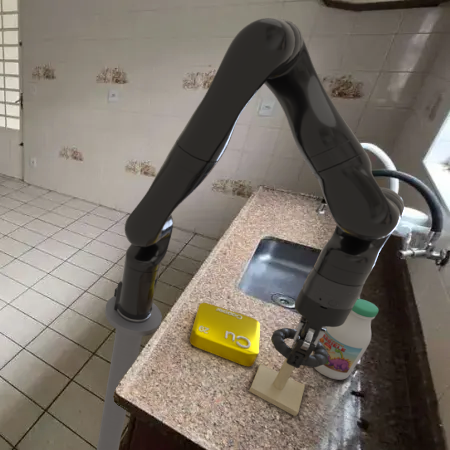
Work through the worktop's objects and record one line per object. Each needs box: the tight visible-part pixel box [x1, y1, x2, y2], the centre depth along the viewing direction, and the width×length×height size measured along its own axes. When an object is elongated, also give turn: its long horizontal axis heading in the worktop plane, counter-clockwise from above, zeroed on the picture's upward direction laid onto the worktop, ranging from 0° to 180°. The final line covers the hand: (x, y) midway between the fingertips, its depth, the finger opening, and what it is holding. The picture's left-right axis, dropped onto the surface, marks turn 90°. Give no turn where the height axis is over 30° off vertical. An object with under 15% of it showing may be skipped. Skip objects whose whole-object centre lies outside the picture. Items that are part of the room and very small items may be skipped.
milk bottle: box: [310, 298, 379, 381], centre depth 81 cm, size 8×8×20 cm
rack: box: [248, 358, 306, 417], centre depth 77 cm, size 9×9×14 cm
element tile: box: [189, 302, 261, 367], centre depth 93 cm, size 15×15×5 cm
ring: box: [270, 327, 328, 368], centre depth 73 cm, size 10×10×2 cm
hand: (293, 360), depth 71 cm, fingers closed on ring, 2 cm apart
